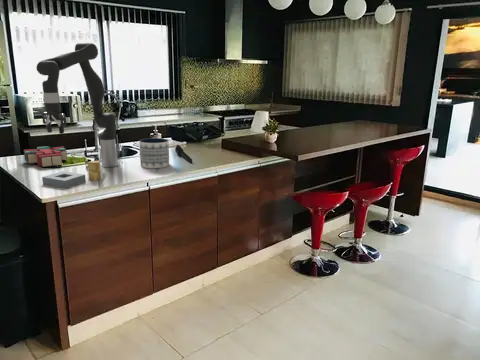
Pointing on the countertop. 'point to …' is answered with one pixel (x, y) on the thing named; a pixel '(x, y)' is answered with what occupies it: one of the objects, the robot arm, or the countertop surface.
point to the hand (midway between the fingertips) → (55, 133)
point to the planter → (154, 153)
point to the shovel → (182, 153)
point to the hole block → (64, 179)
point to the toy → (46, 156)
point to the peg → (94, 170)
